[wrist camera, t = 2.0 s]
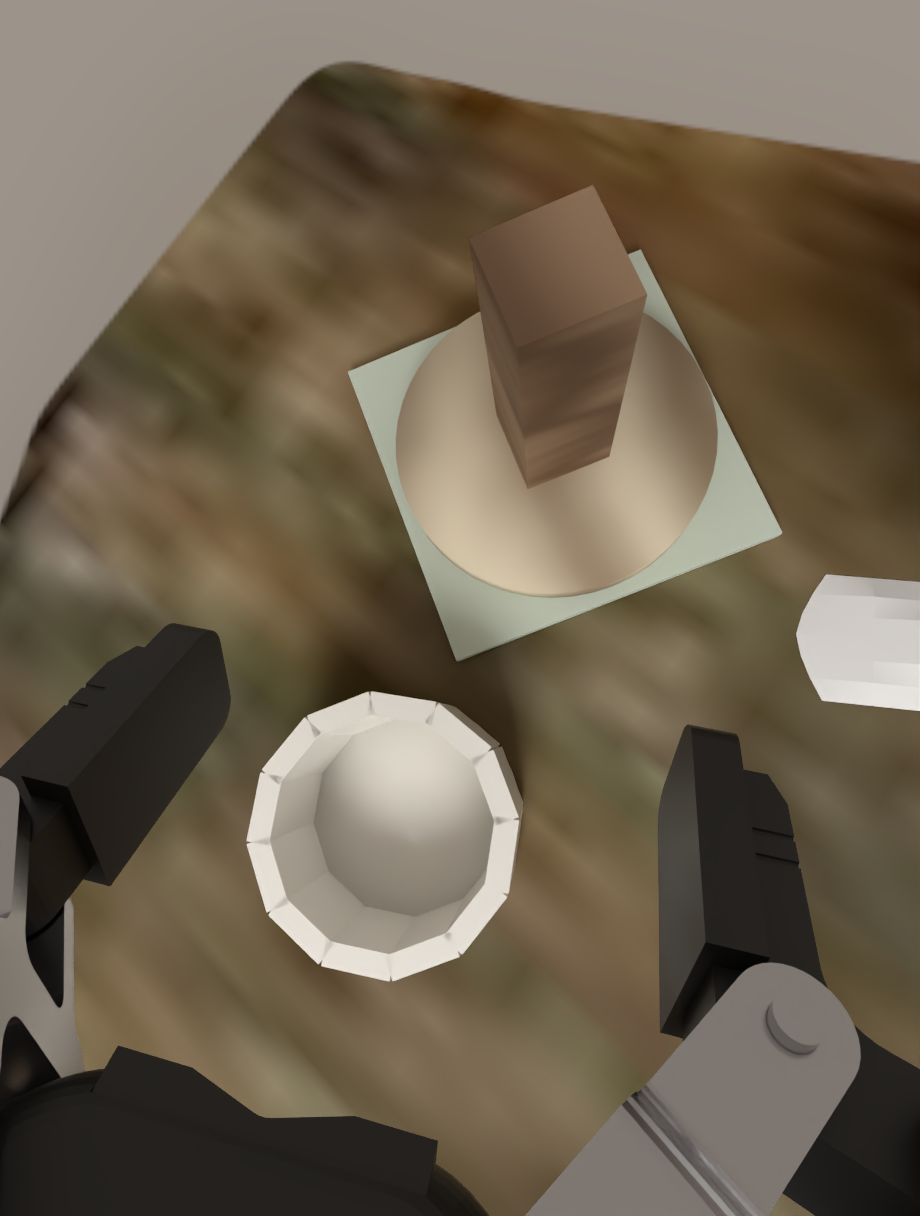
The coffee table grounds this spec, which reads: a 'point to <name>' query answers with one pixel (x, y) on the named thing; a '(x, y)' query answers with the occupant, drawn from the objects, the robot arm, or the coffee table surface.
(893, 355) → the coffee table surface
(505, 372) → the lid
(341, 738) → the bowl
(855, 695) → the heart sculpture
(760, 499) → the mat
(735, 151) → the coffee table surface
